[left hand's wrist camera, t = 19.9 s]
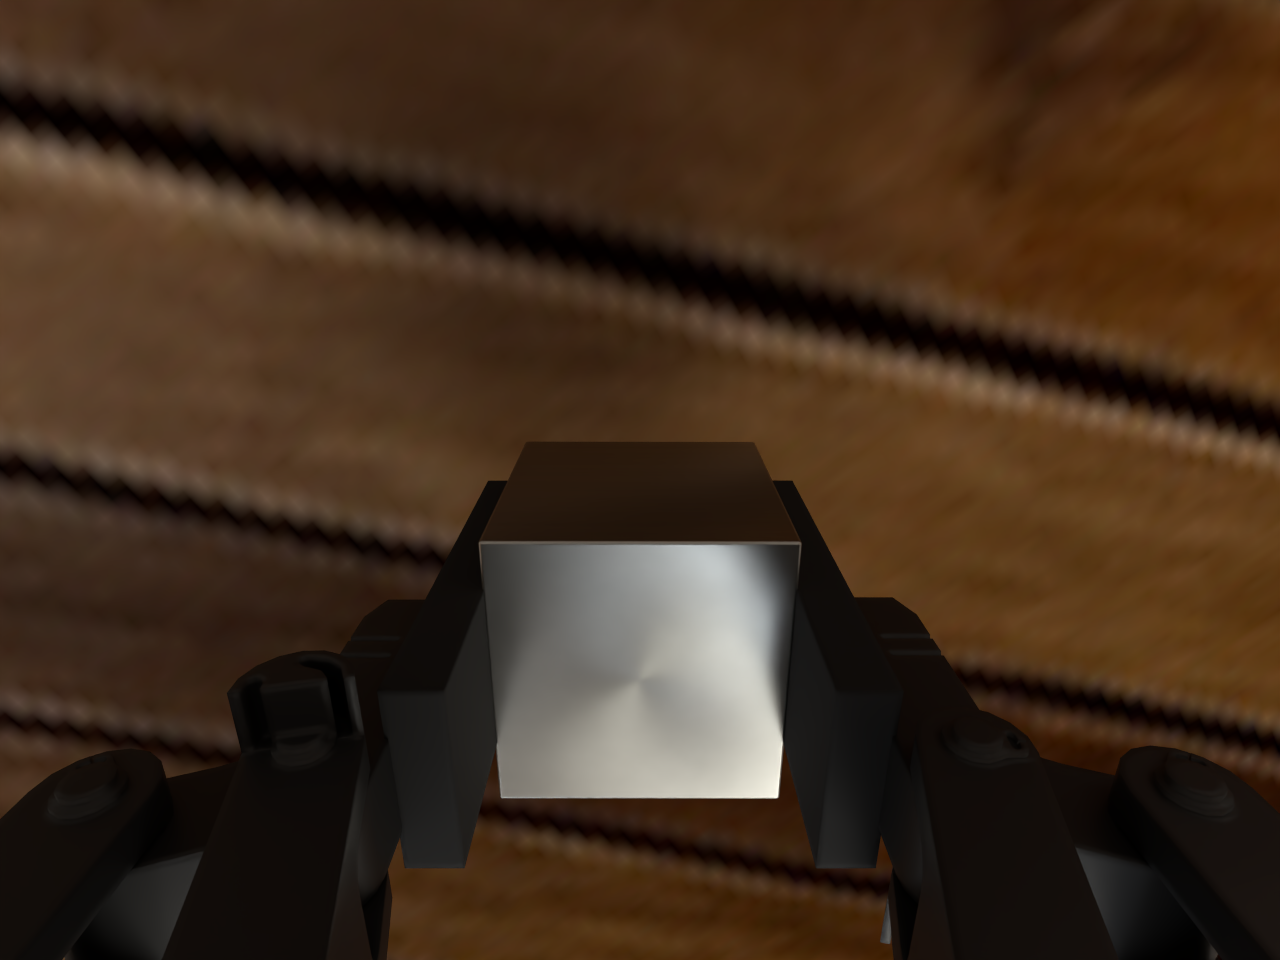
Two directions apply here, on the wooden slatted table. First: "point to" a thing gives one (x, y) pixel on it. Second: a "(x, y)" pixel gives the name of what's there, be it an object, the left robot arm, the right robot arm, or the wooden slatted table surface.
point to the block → (640, 621)
